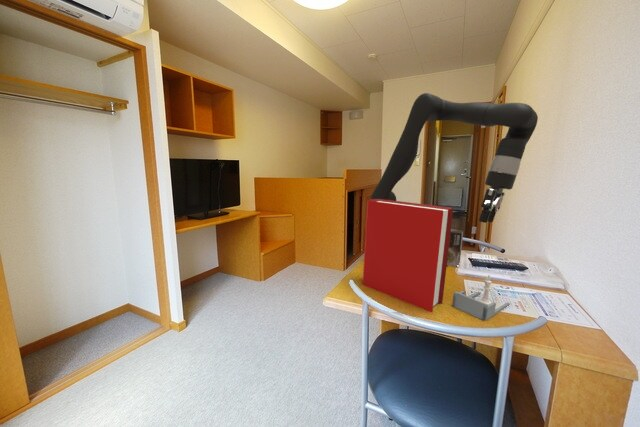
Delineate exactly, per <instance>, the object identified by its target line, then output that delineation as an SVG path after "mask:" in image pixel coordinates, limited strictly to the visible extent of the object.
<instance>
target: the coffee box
mask: <svg viewBox="0 0 640 427" xmlns="http://www.w3.org/2000/svg"><path fill="white" fill-rule="evenodd" d="M463 236H464V230H463V229H462V230H461V229H453V228H451V233H450V242H449V250H448V259H447V266H448V267H454V268H457V267H456V266H457V265H459V263H460V264H461V255H462V246H463ZM459 266H460V265H459Z"/></svg>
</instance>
